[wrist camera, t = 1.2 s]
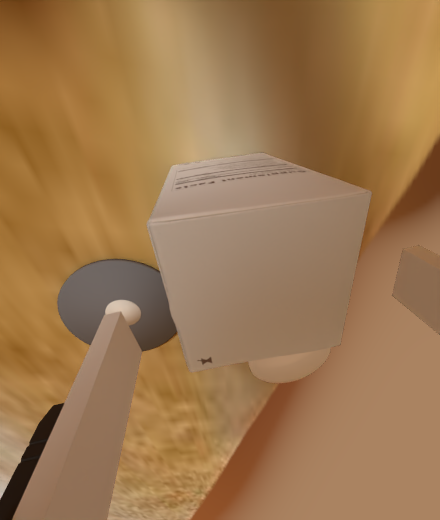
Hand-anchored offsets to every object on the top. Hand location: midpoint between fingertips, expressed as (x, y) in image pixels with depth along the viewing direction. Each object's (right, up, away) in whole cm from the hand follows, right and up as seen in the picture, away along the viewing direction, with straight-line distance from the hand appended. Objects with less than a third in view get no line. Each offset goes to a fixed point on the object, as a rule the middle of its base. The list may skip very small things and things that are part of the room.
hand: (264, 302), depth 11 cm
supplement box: (-2, +8, +13) cm, 15 cm away
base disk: (-14, -4, +17) cm, 22 cm away
